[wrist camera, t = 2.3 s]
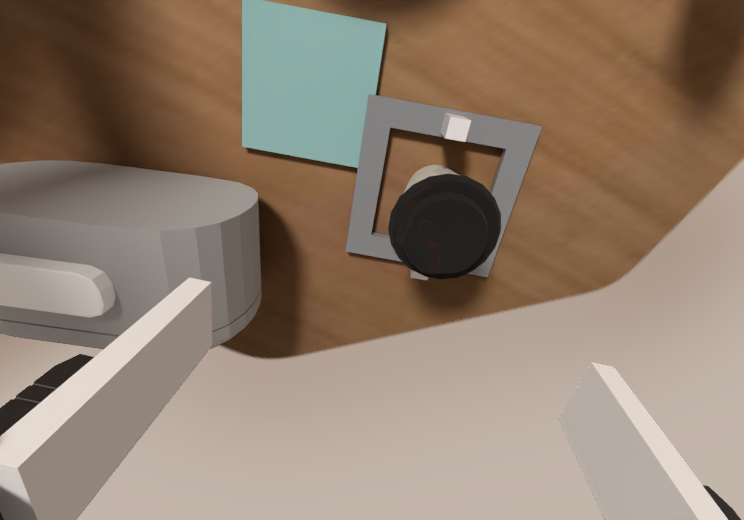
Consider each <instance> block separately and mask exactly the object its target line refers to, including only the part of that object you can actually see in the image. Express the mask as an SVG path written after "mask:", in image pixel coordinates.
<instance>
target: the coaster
mask: <svg viewBox="0 0 744 520" xmlns="http://www.w3.org/2000/svg"><path fill="white" fill-rule="evenodd" d="M386 28H387V24H386V23H380V22H375V21H370V20H364V19H359V18H354V17H348V16H343V15H338V14H332V13H327V12H322V11H316V10H311V9H306V8H300V7H295V6H290V5H284V4H279V3H274V2H269V1H263V0H242V147H247V148H252V149H258V150H263V151H269V152H274V153H280V154H285V155H290V156H296V157H301V158H307V159H312V160H318V161H323V162H328V163H334V164H339V165H345V166H350V167H355V168H358V163H359V157H360V150H361V143H362V136H363V129H364V123H365V116H366V109H367V102H368V95H369V94H372V95H376V92H377V86H378V79H379V73H380V66H381V60H382V54H383V47H384V41H385V34H386Z"/></svg>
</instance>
